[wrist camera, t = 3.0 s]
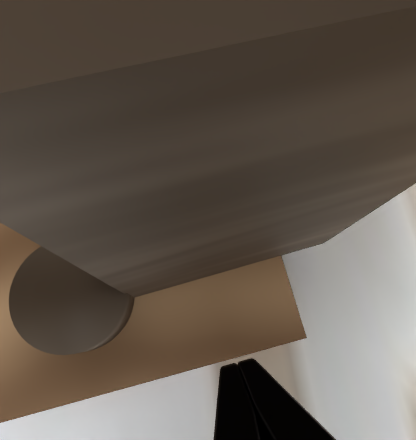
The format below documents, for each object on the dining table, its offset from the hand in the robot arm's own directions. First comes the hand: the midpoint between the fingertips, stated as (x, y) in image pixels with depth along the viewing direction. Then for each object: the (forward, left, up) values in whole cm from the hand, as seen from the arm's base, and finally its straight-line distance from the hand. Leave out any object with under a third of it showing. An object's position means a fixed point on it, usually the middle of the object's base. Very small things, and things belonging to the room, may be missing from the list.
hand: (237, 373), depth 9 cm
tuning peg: (+6, -3, -7) cm, 9 cm away
